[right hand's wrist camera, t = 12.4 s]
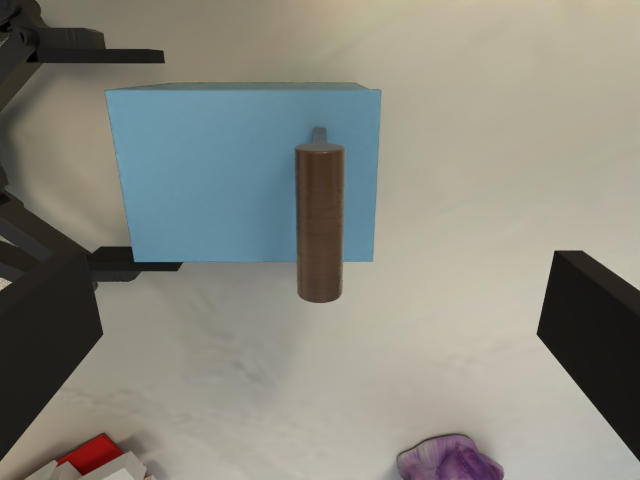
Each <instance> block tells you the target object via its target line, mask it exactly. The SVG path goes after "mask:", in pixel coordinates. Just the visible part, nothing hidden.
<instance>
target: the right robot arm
mask: <svg viewBox="0 0 640 480" xmlns="http://www.w3.org/2000/svg"><path fill="white" fill-rule="evenodd" d="M102 335H103V330H102V325H101V321H100V316H99V312H98V307H97V302H96V298H95V293H94V289H93V284H92V279H91V275H90V270H89V266H88V261H87V256H86V252H85V251H57V252H55V253H54V254H52V255H51V256H49V257H48V258H47V259H45V260H44V261H42V262H41V263H39V264H38V265H37V266H35V267H34V268H32V269H31V270H29V271H28V272H27V273H25V274H24V275H22V276H21V277H19V278H18V279H17V280H15V281H14V282H12V283H11V284H9V285H8V286H7V287H5V288H4V289H2V290H1V291H0V461H1V460H2V459H3V458H4V456H5V455H6V454H7V453H8V451H9V450H10V449H11V448H12V447H13V445H14V444H15V443H16V442H17V440H18V439H19V438H20V437H21V435H22V434H23V433H24V432H25V430H26V429H27V428H28V427H29V426H30V424H31V423H32V422H33V421H34V419H35V418H36V417H37V416H38V414H39V413H40V412H41V411H42V409H43V408H44V407H45V406H46V405H47V403H48V402H49V401H50V400H51V398H52V397H53V396H54V395H55V393H56V392H57V391H58V390H59V389H60V387H61V386H62V385H63V384H64V382H65V381H66V380H67V379H68V377H69V376H70V375H71V374H72V372H73V371H74V370H75V369H76V368H77V366H78V365H79V364H80V363H81V361H82V360H83V359H84V358H85V356H86V355H87V354H88V353H89V351H90V350H91V349H92V348H93V347H94V345H95V344H96V343H97V342H98V340H99V339H100V338H101V337H102ZM537 335H538V337H539V338H540V339H541V340H542V342H543V343H544V344H545V345H546V347H547V348H548V349H549V350H550V351H551V353H552V354H553V355H554V356H555V358H556V359H557V360H558V361H559V363H560V364H561V365H562V366H563V368H564V369H565V370H566V371H567V372H568V374H569V375H570V376H571V377H572V379H573V380H574V381H575V382H576V384H577V385H578V386H579V387H580V389H581V390H582V391H583V392H584V393H585V395H586V396H587V397H588V398H589V400H590V401H591V402H592V403H593V405H594V406H595V407H596V408H597V409H598V411H599V412H600V413H601V414H602V416H603V417H604V418H605V419H606V421H607V422H608V423H609V424H610V426H611V427H612V428H613V429H614V430H615V432H616V433H617V434H618V435H619V437H620V438H621V439H622V440H623V442H624V443H625V444H626V445H627V447H628V448H629V449H630V450H631V451H632V453H633V454H634V455H635V456H636V458H637V459H638V460H639V461H640V291H639V290H638V289H636V288H635V287H633V286H632V285H631V284H629V283H628V282H626V281H625V280H623V279H622V278H621V277H619V276H618V275H616V274H615V273H613V272H612V271H611V270H609V269H608V268H606V267H605V266H603V265H602V264H601V263H599V262H598V261H596V260H595V259H593V258H592V257H591V256H589V255H588V254H586V253H585V252H583V251H555V252H554V256H553V261H552V266H551V270H550V275H549V279H548V284H547V289H546V293H545V298H544V302H543V307H542V312H541V316H540V321H539V325H538V330H537Z"/></svg>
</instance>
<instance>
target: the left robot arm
mask: <svg viewBox="0 0 640 480" xmlns="http://www.w3.org/2000/svg"><path fill="white" fill-rule="evenodd" d="M40 14H41V8H40V6H39V4H38V3H37V2H36V1H35V0H0V42H1V41H3V40H4V39H6V38H7V37H9V36H10V37H9V38H8V39H7V40H6V41H5V43H4V44H3V45H2V46H1V47H0V111H1V110H2V109H3V108H4V107H5V106H6V105H7V103H8V102H9V101H10V100H11V99H12V98H13V97H14V96H15V94H16V93H17V92H18V91H19V90H20V89H21V88H22V86H23V85H24V84H25V83H26V82H27V81H28V80H29V78H30V77H31V76H32V75H33V74H34V73H35V72H36V71H37V69H38V68H39V67H40V66H41V65H42V64H43V63H165V61H164V52H163V51H160V50H151V49H106V46H105V40H104V34H103V33H101V32H99V31H96V30H93V29H87V28H50V27H48V26H47V25H46V24H45V22H44V21H43V19H42V17H41V16H40ZM6 185H9V183H8V179H7V176H6V173H5V171H4V169H3V167H2V166H1V164H0V235H1V236H2V237H4V238H5V239H7V240H8V241H10V242H11V243H13V244H14V245H16V246H18V247H16V246H14V245H11V244H9V243H6V242H3V241H0V277H1V278H3V279H6V280H8V281H11V282H14V281H15V280H17V279H18V278H19V277H21V276H22V275H24V274H25V273H27V272H28V271H29V270H31V269H32V268H34V267H35V266H37V265H38V264H39V263H41V262H42V261H44V260H45V259H47V258H48V257H49V256H51V255H52V254H54V253H55V252H57V251H85V252H86V256H87V261H88V266H89V270H90V275H91V279H92V284H93V289H94V291H95V290H96V289H97V287H98V283H97V282H114V281H115V282H120V281H121V282H129V281H132V280H134V279H135V278H136V277H137V276H138V275H139V274H140V273H141V272H142V271H178V269H179V268H180V266H181V265H182V263H183V262H134V256H133V251H132V247H103V246H101V247H100V248H98V249H97V250H96V251H95V252H94V253H91V252H89V251H88V250H86V249H85V248H83V247H82V246H80V245H79V244H77V243H76V242H74V241H73V240H71V239H70V238H68V237H67V236H65V235H64V234H62V233H61V232H59V231H58V230H56V229H55V228H53V227H52V226H50V225H49V224H47V223H46V222H44V221H43V220H41V219H40V218H38V217H37V216H36V215H34V214H33V213H31V212H30V211H28V210H27V209H25V208H24V204H23V202H22V201H21V200H19V199H18V198H16V197H15V196H13V195H12V194H10V193H9V192H7V191H6V190H5V186H6Z"/></svg>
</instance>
